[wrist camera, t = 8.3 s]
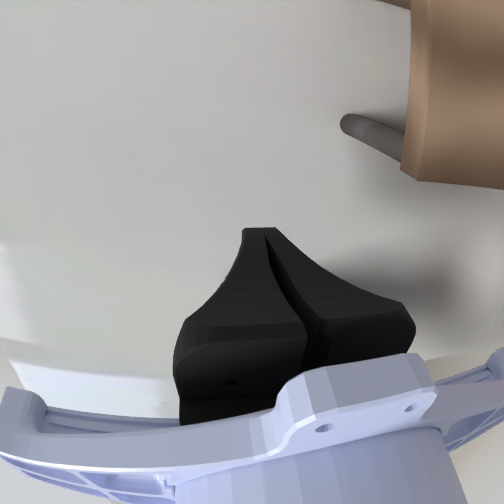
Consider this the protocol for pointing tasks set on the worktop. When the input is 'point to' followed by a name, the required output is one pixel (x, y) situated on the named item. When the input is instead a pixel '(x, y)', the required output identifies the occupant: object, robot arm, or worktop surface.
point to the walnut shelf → (449, 96)
